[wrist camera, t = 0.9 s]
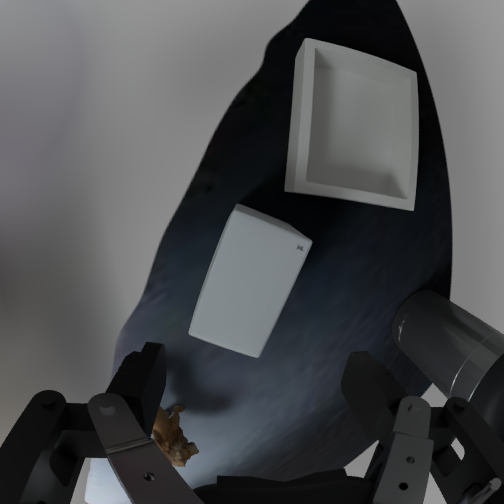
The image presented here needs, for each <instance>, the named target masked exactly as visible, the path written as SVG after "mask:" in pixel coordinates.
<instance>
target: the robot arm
mask: <svg viewBox="0 0 504 504" xmlns="http://www.w3.org/2000/svg"><path fill="white" fill-rule="evenodd" d="M392 335H393V339H394V341H395V343H396V344H397V345H398V346H399V347H400V348H401V349H402V350H403V351H404V352H405V354H406V355H407V356H408V357H409V358H410V359H411V360H412V361H413V362H414V363H415V364H416V365H417V366H418V367H419V368H420V370H421V371H422V372H423V373H424V374H425V375H426V376H427V377H428V378H429V379H430V380H431V381H432V382H433V383H434V385H435V386H436V387H437V388H438V389H439V390H440V391H441V392H442V393H443V394H444V395H445V397H446V398H447V399H448V400H447V402H446V403H445V405H444V407H430V405H429V403H428V402H427V401H425V400H424V399H422V398H420V397H416V396H409V395H408V394H407V393H406V392H405V390H404V389H403V388H402V387H401V385H400V384H399V383H398V382H397V380H395V378H394V377H393V375H392V374H391V373H390V372H389V370H388V369H387V368H386V367H385V366H384V365H382V364H381V363H379V362H378V361H375V360H374V359H373V357H372V356H371V355H370V354H369V353H368V352H367V351H364V352H351V353H350V355H349V357H348V360H347V364H346V367H345V370H344V373H343V377H342V380H341V390H342V393H343V395H344V397H345V399H346V401H347V403H348V405H349V407H350V408H351V410H352V412H353V414H354V416H355V418H356V420H357V422H358V424H359V426H360V428H361V430H362V432H363V434H364V436H365V438H366V440H367V441H371V440H376V439H378V440H379V443H378V445H377V447H376V449H375V452H374V454H373V457H372V460H371V462H370V465H369V467H368V469H367V472H366V474H365V476H364V478H361V477H355V476H347V474H346V471H345V469H344V468H343V469H337V470H330V471H324V472H316V473H313V474H310V475H307V476H304V477H301V478H297V479H294V480H290V481H286V482H281V481H274V480H267V479H261V478H255V477H243V476H217V483H216V484H209V485H205V486H201V487H198V488H195V489H193V490H192V489H191V488H190V487H189V485H188V484H187V483H186V482H185V481H184V479H183V478H182V477H181V476H180V474H179V473H178V472H177V470H176V469H175V468H174V467H173V465H172V464H171V463H170V461H169V460H168V459H167V457H166V456H165V455H164V453H163V452H162V450H161V449H160V448H159V446H158V445H157V443H156V442H155V441H154V440H153V439H152V438H150V437H151V434H152V430H153V427H154V423H155V420H156V416H157V413H158V409H159V406H160V403H161V399H162V396H163V393H164V389H165V386H166V358H165V346H164V344H160V343H153V342H146V343H145V345H144V347H143V349H142V351H141V352H136V351H133V352H132V353H130V354H129V355H128V356H126V357H125V359H124V360H123V362H122V364H121V366H120V367H119V369H118V372H116V374H115V376H114V378H113V379H112V381H111V383H110V385H109V387H108V388H107V390H106V392H105V393H100V394H97V395H95V396H93V397H92V398H91V399H90V400H89V402H88V403H86V404H85V403H84V404H81V403H67V402H66V400H65V398H64V396H63V395H62V394H61V393H59V392H57V391H53V390H45V391H41V392H39V393H37V394H36V395H34V397H33V398H32V399H31V401H30V402H29V404H28V405H27V407H26V408H25V410H24V411H23V412H22V414H21V416H20V417H19V419H18V420H17V422H16V423H15V425H14V426H13V428H12V430H11V431H10V433H9V434H8V436H7V437H6V439H5V441H4V442H3V444H2V446H1V447H0V504H70V502H71V499H72V496H73V492H74V489H75V486H76V483H77V479H78V477H79V474H80V471H81V468H82V465H83V462H84V460H85V457H87V458H107V459H108V461H109V463H110V465H111V467H112V469H113V471H114V473H115V475H116V477H117V479H118V481H119V482H120V484H121V486H122V488H123V489H124V491H125V493H126V495H127V496H128V498H129V500H130V502H131V503H132V504H423V501H424V497H425V492H426V488H427V483H428V477H429V472H430V473H431V474H432V476H433V478H434V480H435V482H436V484H437V485H438V487H439V489H440V491H441V493H442V495H443V497H444V499H445V501H446V503H447V504H504V334H502V333H500V332H499V331H497V330H496V329H494V328H492V327H491V326H490V325H488V324H486V323H485V322H483V321H482V320H480V319H479V318H477V317H475V316H474V315H472V314H470V313H469V312H467V311H466V310H464V309H462V308H461V307H459V306H457V305H456V304H454V303H453V302H451V301H449V300H448V299H446V298H444V297H443V296H441V295H439V294H437V293H436V292H434V291H431V290H422V291H418V292H416V293H414V294H413V295H412V296H410V297H409V298H408V299H407V300H406V301H405V302H404V303H403V304H402V306H401V307H400V308H399V310H398V312H397V314H396V316H395V319H394V322H393V327H392ZM455 438H457V439H458V441H459V442H460V443H461V445H462V446H463V447H464V451H465V454H464V457H463V459H462V460H460V458H459V457H458V455H457V454H456V452H455V451H454V449H453V448H452V446H451V444H452V442H453V441H454V439H455Z"/></svg>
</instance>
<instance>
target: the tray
mask: <svg viewBox="0 0 504 504" xmlns="http://www.w3.org/2000/svg"><path fill="white" fill-rule="evenodd" d="M418 146H419V108H418V87H417V73H416V72H414V71H412V70H410V69H407V68H405V67H402V66H400V65H397V64H395V63H392V62H389V61H387V60H384V59H381V58H378V57H375V56H372V55H369V54H366V53H363V52H360V51H357V50H353V49H350V48H346V47H343V46H339V45H335V44H331V43H327V42H323V41H318V40H314V39H309V38H305V40H304V42H303V44H302V46H301V48H300V50H299V52H298V54H297V56H296V59H295V73H294V87H293V100H292V112H291V124H290V136H289V147H288V158H287V168H286V178H285V188H284V192H292V193H300V194H308V195H316V196H323V197H330V198H337V199H344V200H350V201H356V202H363V203H369V204H374V205H380V206H386V207H392V208H398V209H404V210H411V211H414V203H415V193H416V182H417V168H418Z"/></svg>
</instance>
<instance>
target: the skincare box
mask: <svg viewBox="0 0 504 504" xmlns="http://www.w3.org/2000/svg"><path fill="white" fill-rule="evenodd" d="M311 245H312V241H311V240H310V239H309V238H307V237H305V236H304V235H303V234H302V233H300V232H299V231H297V230H296V229H295V228H293V227H292V226H291V225H290V224H288V223H286V222H283V221H281V220H279V219H276V218H274V217H271V216H269V215H266V214H264V213H261V212H259V211H256V210H254V209H251V208H249V207H246V206H244V205H241V204H237V205H236V207H235V208H234V210H233V211H232V213H231V215H230V217H229V219H228V221H227V223H226V226H225V228H224V231H223V233H222V236H221V238H220V241H219V243H218V246H217V248H216V251H215V254H214V256H213V259H212V262H211V264H210V267H209V270H208V273H207V275H206V278H205V281H204V284H203V287H202V290H201V293H200V296H199V299H198V302H197V305H196V308H195V311H194V315H193V318H192V322H191V326H190V329H189V335H191V336H194V337H196V338H199V339H201V340H204V341H207V342H210V343H213V344H216V345H218V346H221V347H224V348H227V349H230V350H233V351H236V352H240V353H243V354H246V355H249V356H252V357H256V358H258V357H260V355H261V353H262V351H263V349H264V347H265V344H266V342H267V340H268V338H269V336H270V334H271V332H272V330H273V328H274V326H275V324H276V322H277V319H278V317H279V315H280V313H281V311H282V309H283V307H284V304H285V302H286V300H287V298H288V296H289V294H290V292H291V289H292V287H293V285H294V283H295V281H296V279H297V276H298V274H299V272H300V270H301V268H302V266H303V263H304V261H305V259H306V257H307V254H308V252H309V250H310V248H311Z"/></svg>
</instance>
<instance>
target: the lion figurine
mask: <svg viewBox="0 0 504 504" xmlns="http://www.w3.org/2000/svg"><path fill="white" fill-rule="evenodd" d="M183 411H184V407H182V406H179V405H177V406H174V408H173V415H172V416H171V417H170V413H169V412H168V411H164V410H163V409H162V407H160V406H159V409H158V413H157V416H156V420H155V423H154V427H153V430H152V434H153V437H154V441H155V442H156V443H157V445H158V446H159V448H160V449H161V450H162V452H163V453H164V455H165V456H166V457H167V459H168V460H169V461H170V463H171V464H172V465H174V466H181V467H183V466H184V467H185V464H186V462H187V460H189V459H190V457H191V456H192V455H194V454H197V453H199V450H198V449H197V447H196V446H195V443H194V442H190V443H188V440H187V438H186V437H184V435H183V430H182V429H181V428H180V427H179V421H180V417H179V412H183ZM169 417H170V418H169Z"/></svg>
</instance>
